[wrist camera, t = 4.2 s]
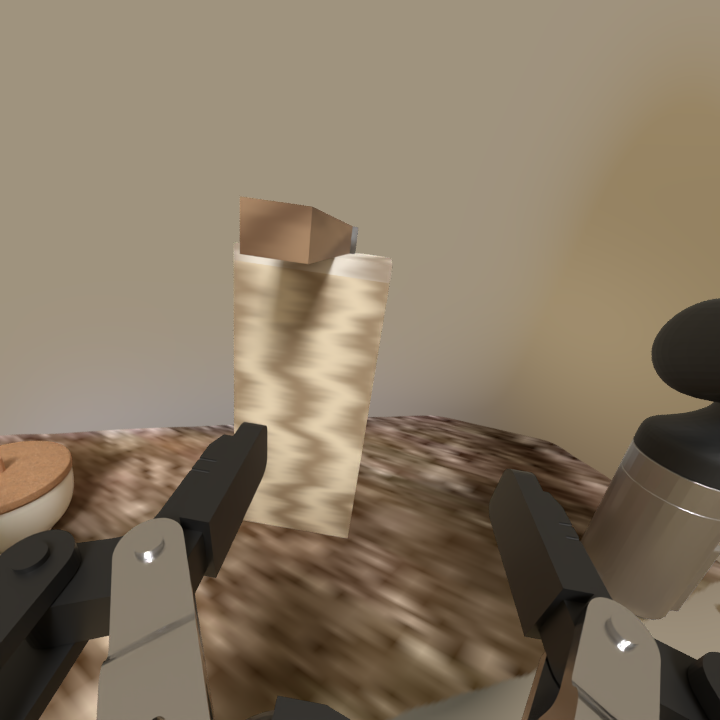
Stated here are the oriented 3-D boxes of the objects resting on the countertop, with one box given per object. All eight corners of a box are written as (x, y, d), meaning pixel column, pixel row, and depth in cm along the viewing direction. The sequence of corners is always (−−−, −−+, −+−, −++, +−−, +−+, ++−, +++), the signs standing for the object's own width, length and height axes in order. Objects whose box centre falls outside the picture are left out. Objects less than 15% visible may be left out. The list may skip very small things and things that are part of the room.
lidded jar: (66, 559, 32) (47, 485, 29) (-98, 599, 27) (-143, 516, 24) (93, 485, 41) (81, 422, 38) (-27, 505, 36) (-53, 435, 33)
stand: (358, 456, 54) (390, 257, 42) (347, 538, 39) (392, 265, 28) (277, 442, 54) (287, 242, 43) (234, 518, 39) (233, 242, 28)
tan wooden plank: (356, 253, 42) (359, 228, 41) (316, 265, 18) (321, 207, 17) (319, 247, 42) (321, 223, 41) (231, 252, 18) (230, 195, 17)
